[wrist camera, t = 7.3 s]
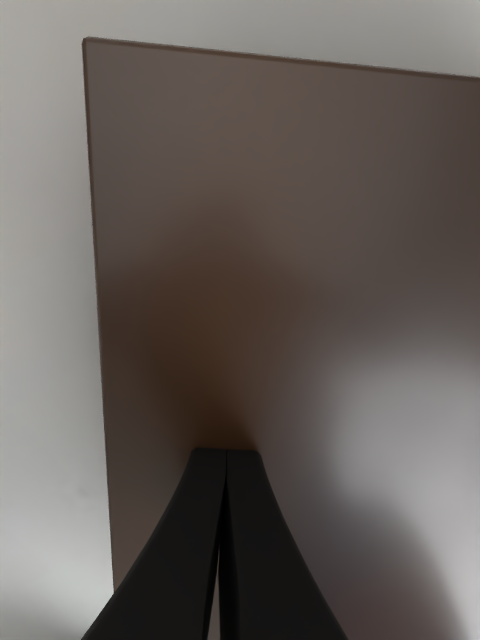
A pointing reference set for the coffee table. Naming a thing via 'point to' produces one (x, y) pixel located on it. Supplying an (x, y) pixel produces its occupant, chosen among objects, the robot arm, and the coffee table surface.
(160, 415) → the brown rectangular panel
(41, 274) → the coffee table surface
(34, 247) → the coffee table surface
